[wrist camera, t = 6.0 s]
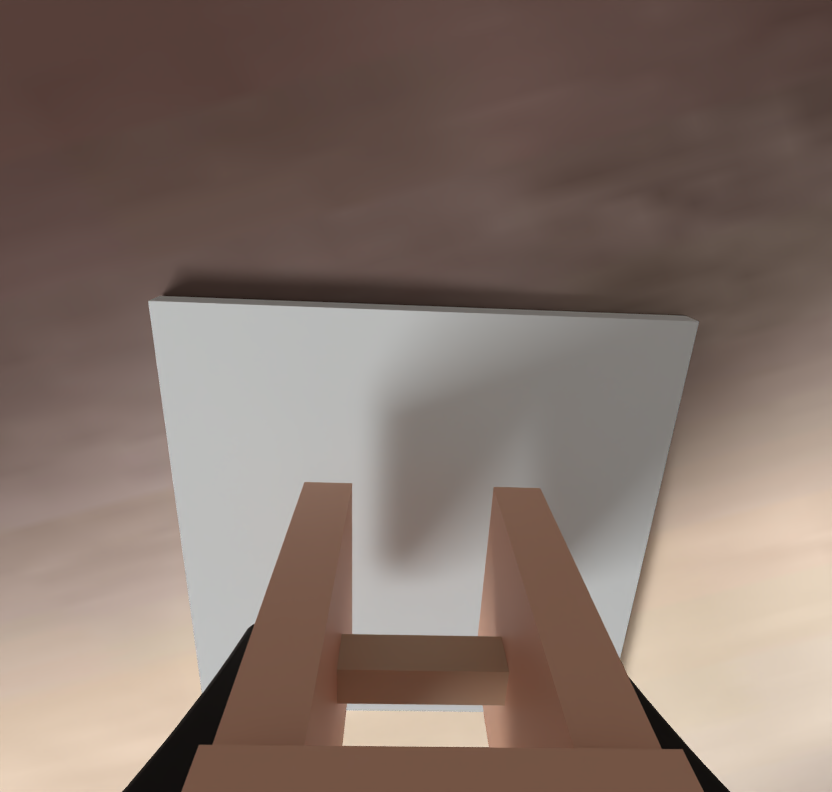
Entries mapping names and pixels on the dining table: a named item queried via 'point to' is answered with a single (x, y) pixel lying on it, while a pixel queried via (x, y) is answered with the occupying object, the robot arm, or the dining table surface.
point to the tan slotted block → (435, 676)
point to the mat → (410, 448)
